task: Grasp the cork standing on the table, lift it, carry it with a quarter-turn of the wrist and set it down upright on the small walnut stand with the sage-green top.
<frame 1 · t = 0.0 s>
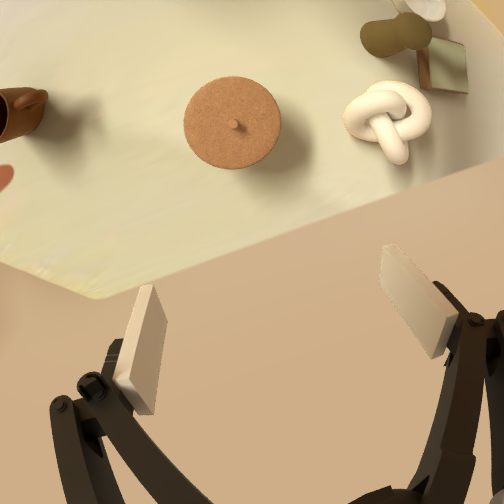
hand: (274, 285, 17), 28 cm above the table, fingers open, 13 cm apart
white decorative knot: (376, 112, 39), on the table
stand: (438, 65, 35), on the table
lidded jar: (230, 119, 38), on the table
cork: (377, 39, 33), on the table
mug: (38, 105, 32), on the table
ramekin: (409, 1, 29), on the table
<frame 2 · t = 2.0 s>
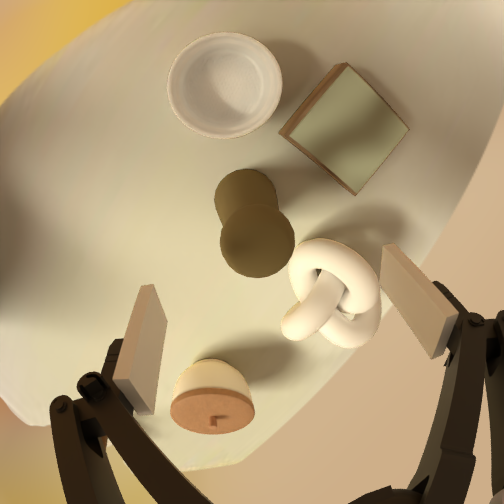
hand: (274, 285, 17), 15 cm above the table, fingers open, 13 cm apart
white decorative knot: (319, 266, 34), on the table
stand: (341, 127, 27), on the table
lidded jar: (211, 371, 41), on the table
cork: (245, 198, 29), on the table
ramekin: (223, 86, 24), on the table
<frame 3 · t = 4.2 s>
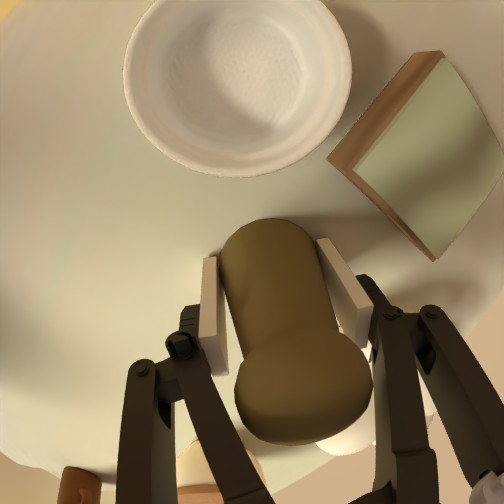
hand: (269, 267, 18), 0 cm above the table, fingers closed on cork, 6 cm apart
white decorative knot: (363, 342, 24), on the table
stand: (419, 152, 16), on the table
lidded jar: (216, 446, 30), on the table
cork: (268, 263, 19), on the table, touching gripper
mug: (85, 471, 36), on the table
ramekin: (233, 75, 13), on the table
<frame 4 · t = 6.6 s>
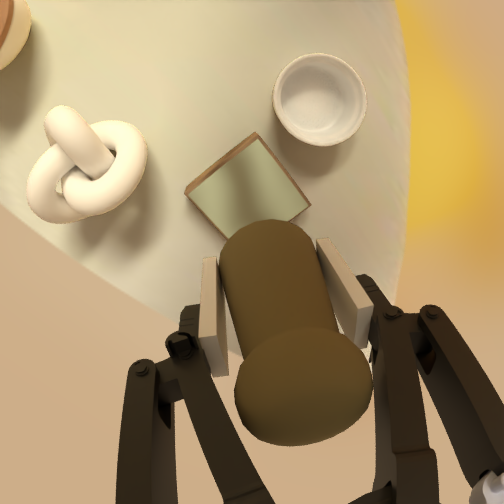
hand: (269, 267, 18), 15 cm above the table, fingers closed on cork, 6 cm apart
white decorative knot: (106, 155, 28), on the table
stand: (247, 190, 32), on the table
lidded jar: (12, 37, 19), on the table
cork: (268, 263, 19), point 15 cm above the table, touching gripper
ramekin: (309, 98, 28), on the table
when the fingers open (4 cm above the table, at t = 8.8 s): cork drops 1 cm, resting on stand.
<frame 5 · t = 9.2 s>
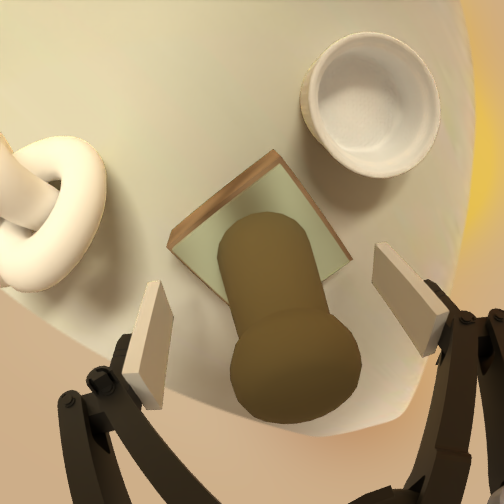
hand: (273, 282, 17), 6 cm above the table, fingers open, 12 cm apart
white decorative knot: (58, 184, 19), on the table
stand: (260, 236, 22), on the table
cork: (264, 254, 20), point 3 cm above the table, touching stand
ramekin: (352, 101, 18), on the table
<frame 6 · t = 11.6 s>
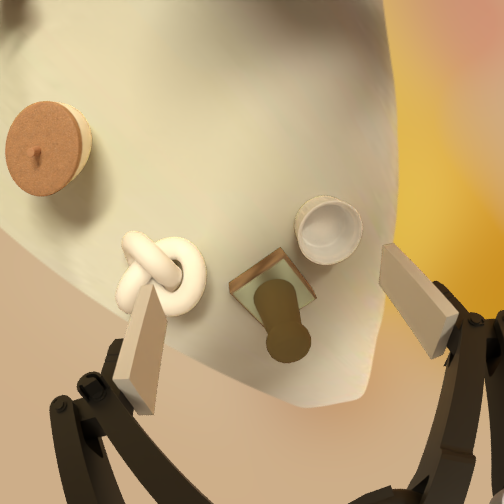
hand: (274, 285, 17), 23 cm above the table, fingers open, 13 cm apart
white decorative knot: (166, 257, 41), on the table
stand: (271, 285, 45), on the table
lidded jar: (68, 140, 32), on the table
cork: (274, 296, 42), point 3 cm above the table, touching stand
ramekin: (320, 221, 41), on the table
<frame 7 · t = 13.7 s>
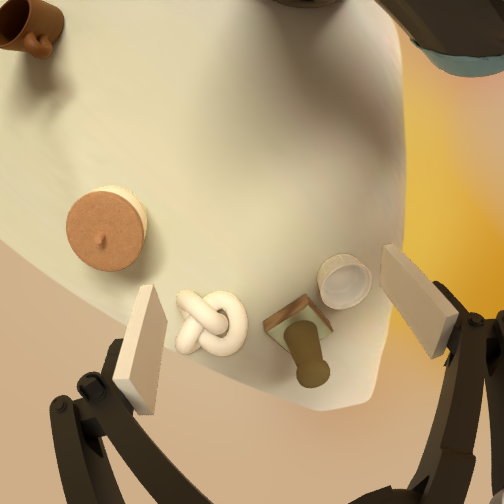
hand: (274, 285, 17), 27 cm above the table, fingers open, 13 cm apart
white decorative knot: (211, 304, 50), on the table
stand: (297, 322, 54), on the table
lidded jar: (120, 211, 41), on the table
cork: (300, 332, 51), point 3 cm above the table, touching stand
mug: (51, 37, 27), on the table
ramekin: (338, 272, 50), on the table
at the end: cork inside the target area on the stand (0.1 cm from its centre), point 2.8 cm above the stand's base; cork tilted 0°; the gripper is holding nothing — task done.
